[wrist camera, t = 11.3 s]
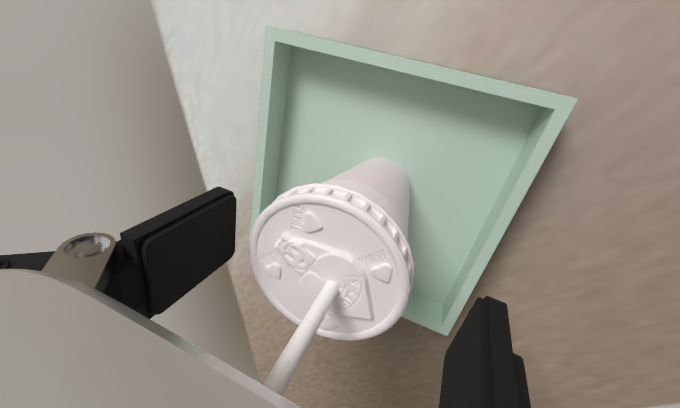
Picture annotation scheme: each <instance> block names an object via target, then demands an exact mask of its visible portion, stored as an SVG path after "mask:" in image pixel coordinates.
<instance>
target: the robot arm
mask: <svg viewBox="0 0 680 408" xmlns="http://www.w3.org/2000/svg"><path fill="white" fill-rule="evenodd" d="M235 228H236V197H234V194H233V192H232V191H229V190H227V189H224V188H222V187H216V188H214V189H212V190H210V191H208V192H205V193H203V194H201V195H199V196H197V197H195V198H193V199H191V200H189V201H187V202H185V203H182V204H180V205H178V206H176V207H174V208H172V209H170V210H168V211H166V212H163V213H161V214H159V215H157V216H155V217H153V218H151V219H149V220H147V221H145V222H142V223H140V224H138V225H137V226H134V227H132V228H130V229H128V230H126V231H124V232H121V233H120V236H121V240H119V241H118V242H116V241H115V238H114V237H113V236H111V235H109V234H105V233H96V232H95V233H86V234H81V235H78V236H75V237H72V238H70V239H68V240H66V241H65V242H63V243H62V244H61V245H60V246H59V247H58V248H57V250H56V251H53V252H40V253H26V254H13V255H0V408H301V407H299V406H298V405H296V404H294V403H292V402H291V401H289V400H287V399H286V398H284V397H282V396H281V395H279V394H277V393H276V392H274V391H272V390H270V389H269V388H267V387H265V386H264V385H262V384H260V383H258V382H257V381H255V380H253V379H252V378H250V377H248V376H247V375H245V374H243V373H241V372H240V371H238V370H236V369H235V368H233V367H231V366H229V365H228V364H226V363H224V362H222V361H221V360H219V359H217V358H216V357H214V356H212V355H210V354H209V353H207V352H205V351H203V350H202V349H200V348H198V347H197V346H195V345H193V344H192V343H190V342H188V341H186V340H185V339H183V338H181V337H179V336H178V335H176V334H174V333H173V332H170V331H169V330H167V329H166V328H164V327H162V326H160V325H159V324H157V323H155V322H153V321H152V320H150V318H152V317H153V316H154V315H155V314H161V313H162V312H164V311H165V310H166V309H167V308H169V307H170V306H171V305H172V304H174V303H175V302H176V301H177V300H179V299H180V298H181V297H183V296H184V295H185V294H186V293H188V292H189V291H190V290H191V289H193V288H194V287H195V286H196V285H198V284H199V283H200V282H202V281H203V280H204V279H205V278H207V277H208V276H209V275H210V274H212V273H213V272H214V271H215V270H217V269H218V268H219V267H220V266H222V265H223V264H224V263H226V262H227V261H228V260H229V259H230V258H231V257H232V256H233V254H234V252H235ZM134 310H135V311H134ZM439 408H531V406H530V399H529V393H528V387H527V380H526V374H525V367H524V363H523V359H522V358H521V357H520V356H518V355H516V354H514V353H513V350H512V342H511V334H510V326H509V318H508V310H507V305H506V303H504V302H501V301H499V300H496V299H494V298H491V297H489V296H486V297H485V298H484V299H482V298H477V300H476V301H475V303H474V305H473V307H472V308H471V310H470V312H469V313H468V315H467V317H466V319H465V320H464V322H463V324H462V326H461V327H460V329H459V331H458V332H457V334H456V336H455V338H454V339H453V341H452V343H451V345H450V346H449V348H448V350H447V352H446V355H445V359H444V367H443V376H442V385H441V394H440V403H439Z"/></svg>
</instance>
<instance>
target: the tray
mask: <svg viewBox="0 0 680 408" xmlns="http://www.w3.org/2000/svg"><path fill="white" fill-rule="evenodd" d="M577 100H578V99H577V98H573V97H570V96H566V95H562V94H558V93H554V92H549V91H545V90H541V89H537V88H532V87H528V86H524V85H519V84H515V83H511V82H507V81H502V80H498V79H494V78H489V77H485V76H481V75H477V74H472V73H468V72H464V71H459V70H455V69H451V68H446V67H442V66H438V65H434V64H429V63H425V62H421V61H416V60H412V59H408V58H404V57H399V56H395V55H391V54H386V53H382V52H378V51H373V50H369V49H365V48H361V47H356V46H352V45H348V44H343V43H339V42H335V41H331V40H326V39H322V38H318V37H313V36H309V35H305V34H301V33H296V32H292V31H287V30H283V29H278V28H273V27H269V26H266V31H265V44H264V57H263V71H262V84H261V97H260V110H259V124H258V137H257V150H256V163H255V176H254V190H253V203H252V216H251V229H250V234H251V230H252V228H253V225H254V223H255V221H256V220H257V218H258V217H259V215H260V214H261V213H262V212H263V211H264V210H265V209H266V208H267V207H268V206H269V205H271V204H272V203H273V202H274V200H275V199H276V198H277V197H278V196H280V195H281V194H283V193H285V192H287V191H289V190H290V189H292V188H294V187H298V186H303V185H308V184H313V183H318V184H320V183H323V182H325V181H327V180H329V179H331V178H333V177H335V176H337V175H339V174H341V173H343V172H345V171H347V170H349V169H351V168H353V167H355V166H357V165H359V164H361V163H363V162H365V161H367V160H370V159H373V158H386V159H390V160H392V161H394V162H396V163H398V164H399V165H400V166H401V167H402V168H403V169H404V170H405V172H406V173H407V175H408V178H409V181H410V201H409V221H408V243H409V246H410V250H411V254H412V258H413V262H414V278H413V287H412V289H411V291H410V294H409V296H408V301H407V304H406V307H405V309H404V311H403V313H402V315H401V316H400V317H403V318H405V319H407V320H410V321H412V322H415V323H417V324H419V325H422V326H424V327H426V328H429V329H431V330H433V331H436V332H438V333H440V334H443V335H445V336H448V334H449V333H450V331H451V329H452V327H453V325H454V323H455V322H456V320H457V318H458V316H459V314H460V313H461V311H462V309H463V307H464V305H465V303H466V302H467V300H468V298H469V296H470V294H471V293H472V291H473V289H474V287H475V285H476V283H477V282H478V280H479V278H480V276H481V274H482V273H483V271H484V269H485V267H486V265H487V263H488V262H489V260H490V258H491V256H492V254H493V253H494V251H495V249H496V247H497V245H498V243H499V242H500V240H501V238H502V236H503V234H504V233H505V231H506V229H507V227H508V225H509V223H510V222H511V220H512V218H513V216H514V214H515V213H516V211H517V209H518V207H519V205H520V203H521V202H522V200H523V198H524V196H525V194H526V193H527V191H528V189H529V187H530V185H531V183H532V182H533V180H534V178H535V176H536V174H537V173H538V171H539V169H540V167H541V165H542V163H543V162H544V160H545V158H546V156H547V154H548V153H549V151H550V149H551V147H552V145H553V143H554V142H555V140H556V138H557V136H558V134H559V133H560V131H561V129H562V127H563V125H564V123H565V122H566V120H567V118H568V116H569V114H570V113H571V111H572V109H573V107H574V105H575V103H576V102H577Z"/></svg>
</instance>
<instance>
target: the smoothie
mask: <svg viewBox="0 0 680 408" xmlns="http://www.w3.org/2000/svg"><path fill="white" fill-rule="evenodd" d="M409 201H410V181H409V178H408V175H407V173H406V172H405V170H404V169H403V168H402V167H401V166H400V165H399V164H398V163H396V162H394V161H392V160H390V159H386V158H373V159H370V160H367V161H365V162H363V163H361V164H359V165H357V166H355V167H353V168H351V169H349V170H347V171H345V172H343V173H341V174H339V175H337V176H335V177H333V178H331V179H329V180H327V181H325V182H323V183H320V184H318V183H313V184H308V185H303V186H298V187H294V188H292V189H290V190H289V191H287V192H285V193H283V194H281V195H280V196H278V197H277V198H276V199H275V200H274V202H273V203H272V204H271V205H269V206H268V207H267V208H266V209H265V210H264V211H263V212H262V213H261V214H260V215H259V217H258V218H257V220H256V221H255V223H254V225H253V228H252V230H251V234H250V240H249V257H250V262H251V266H252V270H253V272H254V275H255V277H256V280H257V282H258V284H259V286H260V287H261V289H262V291H263V292H264V294H265V295H266V297H267V298H268V299H269V300H270V302H271V303H272V304H273V305H274V306H275V307H276V308H277V309H278V310H279V311H280V312H281V313H282V314H283V315H284V316H286V317H287V318H288V319H290V320H291V321H292V322H294V323H295V324H297V325H298V328H297V329H296V331H295V332H294V334H293V336H292V337H291V339H290V340H289V342H288V344H287V345H286V347H285V349H284V350H283V352H282V353H281V355H280V357H279V358H278V360H277V361H276V363H275V365H274V366H273V368H272V369H271V371H270V373H269V374H268V376H267V377H266V379H265V381H264V382H263V384H262V385H264V386H265V387H267V388H269V389H270V390H272V391H274V392H276V393H277V394H279V395H281V396H282V395H283V393H284V391H285V389H286V387H287V385H288V383H289V382H290V380H291V378H292V376H293V374H294V372H295V371H296V369H297V367H298V365H299V363H300V361H301V359H302V358H303V356H304V354H305V352H306V350H307V348H308V347H309V345H310V343H311V341H312V339H313V337H314V335H315V334H317V335H320V336H323V337H327V338H331V339H336V340H348V341H352V340H362V339H367V338H371V337H374V336H377V335H379V334H381V333H383V332H385V331H386V330H388V329H389V328H390V327H392V326H393V325H394V324H395V323H396V322H397V321H398V319H399V318H400V316H401V315H402V313H403V311H404V309H405V307H406V304H407V301H408V296H409V294H410V291H411V289H412V287H413V278H414V262H413V258H412V254H411V250H410V246H409V243H408V221H409Z"/></svg>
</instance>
